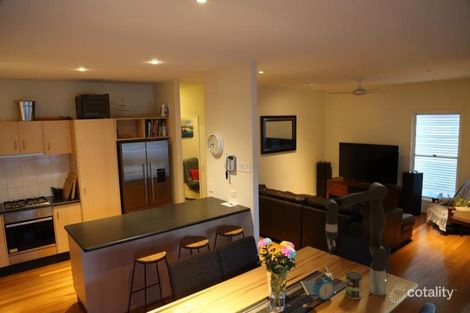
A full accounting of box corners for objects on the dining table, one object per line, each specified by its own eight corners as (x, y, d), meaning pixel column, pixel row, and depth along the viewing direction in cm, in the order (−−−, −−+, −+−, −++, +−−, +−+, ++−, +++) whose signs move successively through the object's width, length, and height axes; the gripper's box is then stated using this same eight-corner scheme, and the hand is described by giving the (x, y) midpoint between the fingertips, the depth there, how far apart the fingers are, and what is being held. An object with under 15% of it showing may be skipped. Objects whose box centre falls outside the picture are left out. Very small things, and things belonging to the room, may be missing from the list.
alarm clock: (317, 302, 210) (317, 280, 208) (312, 297, 215) (312, 276, 214) (335, 298, 213) (335, 277, 212) (329, 293, 219) (329, 272, 217)
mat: (326, 280, 237) (326, 279, 237) (336, 293, 219) (336, 292, 219) (300, 282, 236) (300, 281, 236) (307, 295, 218) (307, 294, 218)
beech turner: (323, 268, 255) (323, 267, 255) (328, 268, 255) (328, 267, 254) (327, 280, 237) (327, 278, 237) (333, 280, 237) (333, 278, 237)
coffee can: (352, 300, 210) (353, 280, 208) (342, 292, 220) (342, 273, 218) (365, 297, 214) (365, 277, 212) (354, 289, 223) (354, 270, 222)
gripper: (340, 233, 208) (340, 258, 210) (333, 226, 221) (333, 250, 223) (329, 233, 208) (328, 259, 210) (322, 226, 221) (322, 250, 223)
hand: (331, 254), depth 217 cm, fingers closed
